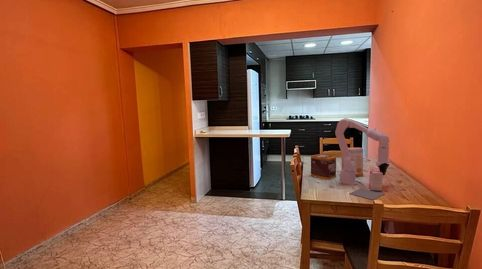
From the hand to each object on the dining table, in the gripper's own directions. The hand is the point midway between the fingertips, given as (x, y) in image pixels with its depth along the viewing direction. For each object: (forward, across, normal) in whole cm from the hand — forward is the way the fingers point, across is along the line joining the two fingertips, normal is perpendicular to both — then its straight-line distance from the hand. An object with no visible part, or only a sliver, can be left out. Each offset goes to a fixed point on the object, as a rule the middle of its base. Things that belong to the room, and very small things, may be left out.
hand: (382, 174), depth 161 cm
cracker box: (+8, +11, +27) cm, 30 cm away
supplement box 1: (+8, -6, +40) cm, 41 cm away
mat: (+8, -20, 0) cm, 22 cm away
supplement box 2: (+8, -10, 0) cm, 13 cm away
